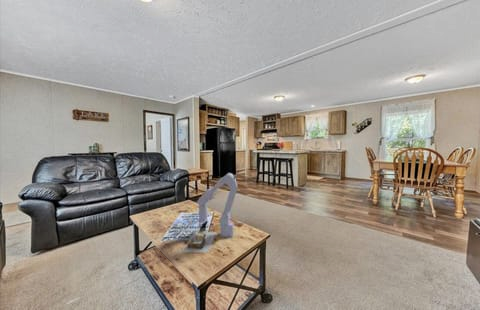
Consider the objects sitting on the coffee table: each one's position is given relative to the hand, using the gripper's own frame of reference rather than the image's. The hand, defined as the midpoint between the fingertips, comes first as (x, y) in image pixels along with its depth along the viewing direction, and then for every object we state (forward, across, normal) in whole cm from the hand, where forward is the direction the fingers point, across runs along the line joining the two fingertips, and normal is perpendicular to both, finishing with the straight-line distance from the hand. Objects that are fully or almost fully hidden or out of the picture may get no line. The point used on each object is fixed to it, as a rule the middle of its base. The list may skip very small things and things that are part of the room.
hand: (203, 231), depth 123 cm
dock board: (+2, +10, +1) cm, 10 cm away
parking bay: (+1, +15, 0) cm, 15 cm away
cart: (+1, +6, 0) cm, 6 cm away
